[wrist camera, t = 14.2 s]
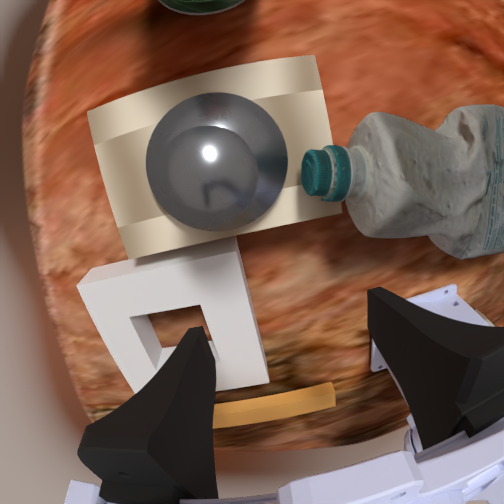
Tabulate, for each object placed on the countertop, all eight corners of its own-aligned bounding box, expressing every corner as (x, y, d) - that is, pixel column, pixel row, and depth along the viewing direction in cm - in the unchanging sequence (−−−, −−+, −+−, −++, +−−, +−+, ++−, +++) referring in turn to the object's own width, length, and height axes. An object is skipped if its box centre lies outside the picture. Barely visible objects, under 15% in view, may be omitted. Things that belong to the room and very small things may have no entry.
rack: (303, 65, 18) (314, 54, 15) (328, 202, 21) (342, 213, 19) (105, 113, 18) (86, 111, 15) (141, 243, 22) (129, 259, 19)
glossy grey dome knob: (269, 91, 18) (294, 62, 10) (286, 204, 21) (317, 255, 13) (151, 113, 18) (94, 104, 10) (174, 223, 21) (138, 283, 13)
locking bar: (331, 381, 23) (335, 392, 22) (332, 396, 24) (335, 406, 23) (158, 409, 23) (156, 419, 22) (167, 421, 24) (165, 431, 23)
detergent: (523, 124, 19) (294, 53, 16) (575, 141, 12) (339, 28, 9) (500, 241, 25) (283, 246, 22) (543, 273, 18) (313, 308, 15)
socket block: (235, 235, 22) (236, 251, 19) (266, 359, 26) (269, 382, 24) (91, 268, 22) (76, 285, 19) (144, 376, 27) (138, 398, 24)
